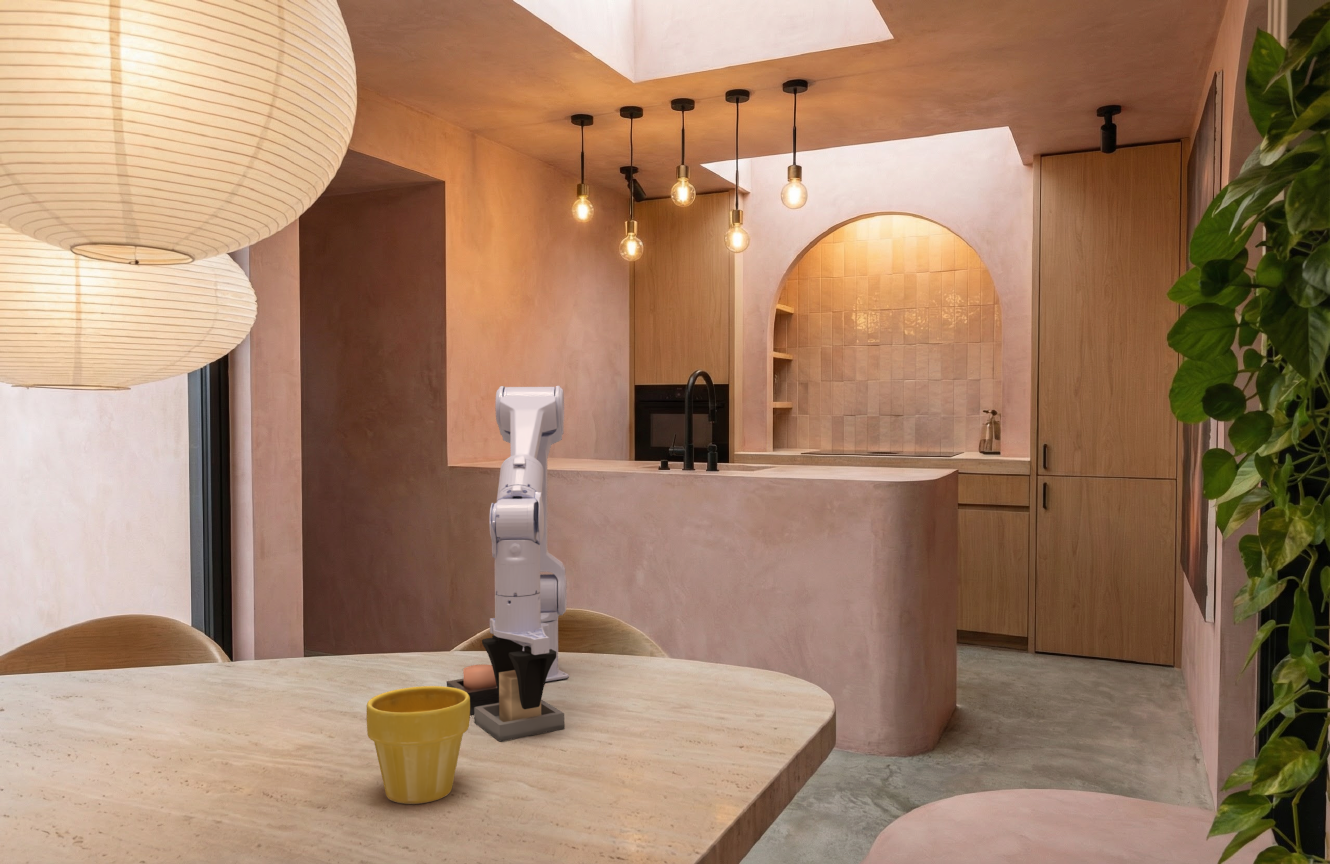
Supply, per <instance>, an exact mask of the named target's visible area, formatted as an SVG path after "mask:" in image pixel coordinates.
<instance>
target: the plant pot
mask: <svg viewBox="0 0 1330 864" xmlns="http://www.w3.org/2000/svg"><path fill="white" fill-rule="evenodd" d="M470 717H471V715H470V697H469V695H468V693H467V692H465V691H463V690H460V689H457V688H452V687H447V686H442V685H441V686H440V685H426V686H425V685H423V686H421V685H420V686H411V687H405V688H404V687H403V688H397V689H393V690H389V691H386V692H383V693H380V694H377V695H375V696H373V697H371V698H370V699H369V700H368V701H367V703H366V733H367V737H368V738H369V739H370V740H371V741H372V742H374V747H375V751H376V756H377V760H378V765H379V769H380V774H381V778H382V783H383V788H384V791H385V796H386V798H388V800H389V801H391V802H395V803H398V804H402V805H403V804H405V805H418V804H420V805H421V804H426V803H430V802H435V801H437V800H441V799H442V798H444V797H446V796H448V795H449V794H450V793H451V792H452V788H453V786H454V779H455V775H456V774H455V773H456V769H457V766H458V765H457V764H458V760H459V756H460V749H461V747H462V741H463V736H464V735H463V734H465V733H466V732H467V731H468V730H469V728H470V720H471V719H470Z"/></svg>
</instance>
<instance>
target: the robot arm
mask: <svg viewBox="0 0 1330 864" xmlns="http://www.w3.org/2000/svg"><path fill="white" fill-rule="evenodd" d="M564 394H565V393H564V389H563V388H562V387H561V386H560V385H556V386H503V385H501V386H499V387H498V389H497V390H496V393H495V407H494V408H495V420H496V421H495V422H496V424H497V427H498V429H499V433H500V436H501V437H502V440H503V441H504V442H505V443H508V444H509V445H510V456H509V457H507V458H506V459H505V460H504V461H503V462H502V463H501V465H500V468H499V469H500V471H499V479H498V488H497V495H496V501H495V503H494V502H491V505H490V508H489V522H488V523H489V524H488V525H489V535H490V540H491V554H492V558H493V559H494V617H492V618H489V633H490V634H492V637H488V638H483V639H482V640H481V644H482V646H483V647H484V649H485V651H486V653H487V655H488V658H489V660H490V663H491V664H490V665H492V667H493V671H494V675H495V680H496V684H497V688H498V691H499V672H505V671H512V670H515V672H516V675H517V680H518V687H519V695H520V702H521V705H522V708H523V709H530V708H535V707H539V706H540V702H541V699H542V698H543V693H544V688H545V684H546V682H551V681H552V682H553V681H557V680H562V679H563V680H564V679H568V678H569V677H570V675H569V673H567V672H565V671H563V670H560V669H559V617H560V616H563V615H564V614H565V613H566V612H567V605H568V604H567V595H568V593H567V592H568V591H567V589H568V588H567V587H568V586H567V576H566V566H565V565H564V563H563V561H561V560H560V559H559V558H557V556H556V557H555V555H553V554H552V553H550V552H549V551H548V550H549V549H548V537H549V535H548V532H549V531H548V529H549V527H548V521H549V520H548V519H549V518H548V514H549V513H548V507H549V506H548V459H549V454H550V450H551V448H552V445H554V444H556V443H558V442H560V441H562V440H563V435H564V432H565V431H564V430H565V429H564V427H565V426H564V424H565V395H564ZM545 572H546V573H547V574H546V573H545ZM541 573H542V574H541ZM543 573H544V574H543ZM548 573H549V574H548Z"/></svg>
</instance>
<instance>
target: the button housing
mask: <svg viewBox="0 0 1330 864" xmlns="http://www.w3.org/2000/svg"><path fill="white" fill-rule="evenodd" d="M446 687H452V688H457V689H460V690H463V691H465V692H467V693H468V695H469V697H470V716H473V715H474V707H478V706H484V705H489V704H495V703H499V691H498V688H497V684H496V686H493V687H487V688H481V689H475V690H467V689H466V688H464V678H459V679H452V680H447V681H446Z"/></svg>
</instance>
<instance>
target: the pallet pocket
mask: <svg viewBox="0 0 1330 864" xmlns="http://www.w3.org/2000/svg"><path fill="white" fill-rule="evenodd" d="M473 717H474V718H473V719H474V721H473V722H474V723H475V725H477V727H480V728H481V729H482V730H483V731H484V732H486V733H488V734H489V735H490V736H491V737H493V738H494V739H495V740H497V741H498V742H507V741H510V740H516V739H521V738H522V739H523V738H527V737H530V736H531V737H532V736H537V735H542V734H546V733H550V732H556V731H560V730H564V729H565V712H563V710H562V711H561V710H560V709H559V708H556V707H555V706H554V705H552V704H550V703H548V702H547V701H545V700H544V699H542V698H541V715H540V716H534V717H529V718H524V719H518V720H513V721H508V722H502V721H501V720H500V719H499V703H495V704H489V705H484V706H478V707H474V716H473Z"/></svg>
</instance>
